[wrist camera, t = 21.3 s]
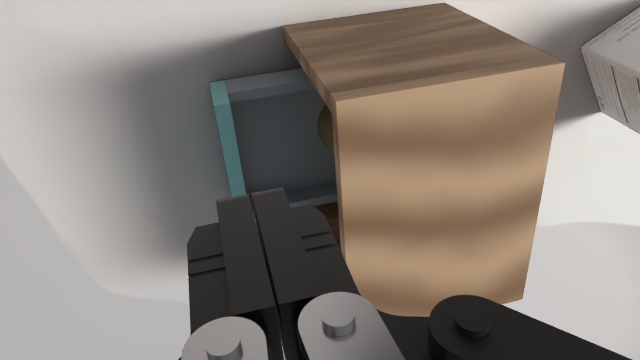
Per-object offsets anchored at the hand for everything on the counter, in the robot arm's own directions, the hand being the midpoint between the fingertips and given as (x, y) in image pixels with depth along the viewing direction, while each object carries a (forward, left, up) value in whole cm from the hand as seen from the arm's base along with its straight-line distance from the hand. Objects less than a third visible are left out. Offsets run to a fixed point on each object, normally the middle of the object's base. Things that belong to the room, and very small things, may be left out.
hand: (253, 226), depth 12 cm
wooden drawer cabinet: (+14, +13, -32) cm, 37 cm away
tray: (+14, +8, -32) cm, 36 cm away
